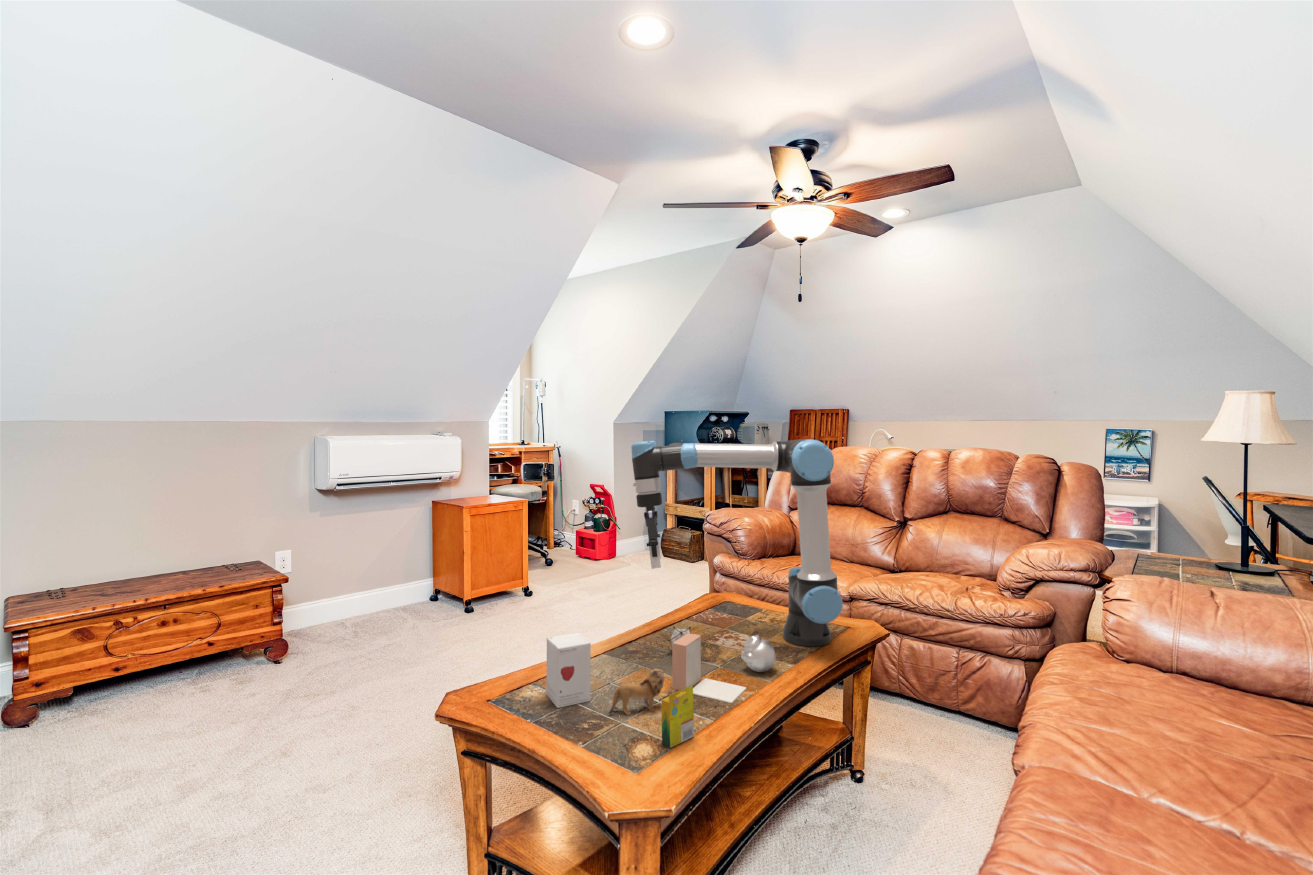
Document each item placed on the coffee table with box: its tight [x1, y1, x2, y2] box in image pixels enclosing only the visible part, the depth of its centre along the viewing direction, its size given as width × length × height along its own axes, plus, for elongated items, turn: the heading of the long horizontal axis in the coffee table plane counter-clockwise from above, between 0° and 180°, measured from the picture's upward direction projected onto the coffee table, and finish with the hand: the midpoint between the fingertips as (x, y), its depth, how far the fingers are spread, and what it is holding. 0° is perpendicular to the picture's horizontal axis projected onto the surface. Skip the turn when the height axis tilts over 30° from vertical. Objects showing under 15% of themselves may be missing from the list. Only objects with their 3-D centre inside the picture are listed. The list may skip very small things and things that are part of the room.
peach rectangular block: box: [671, 633, 702, 691], centre depth 166 cm, size 4×9×12 cm, turn 150°
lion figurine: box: [608, 668, 665, 716], centre depth 150 cm, size 15×5×9 cm, turn 116°
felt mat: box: [693, 677, 747, 704], centre depth 161 cm, size 12×10×1 cm
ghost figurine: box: [740, 634, 776, 673], centre depth 174 cm, size 9×10×10 cm
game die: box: [667, 625, 692, 647], centre depth 187 cm, size 9×8×10 cm
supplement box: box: [545, 632, 592, 709], centre depth 157 cm, size 9×9×15 cm
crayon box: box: [660, 685, 695, 749], centre depth 136 cm, size 7×3×12 cm, turn 131°
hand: (656, 563), depth 185 cm, fingers open, 13 cm apart
